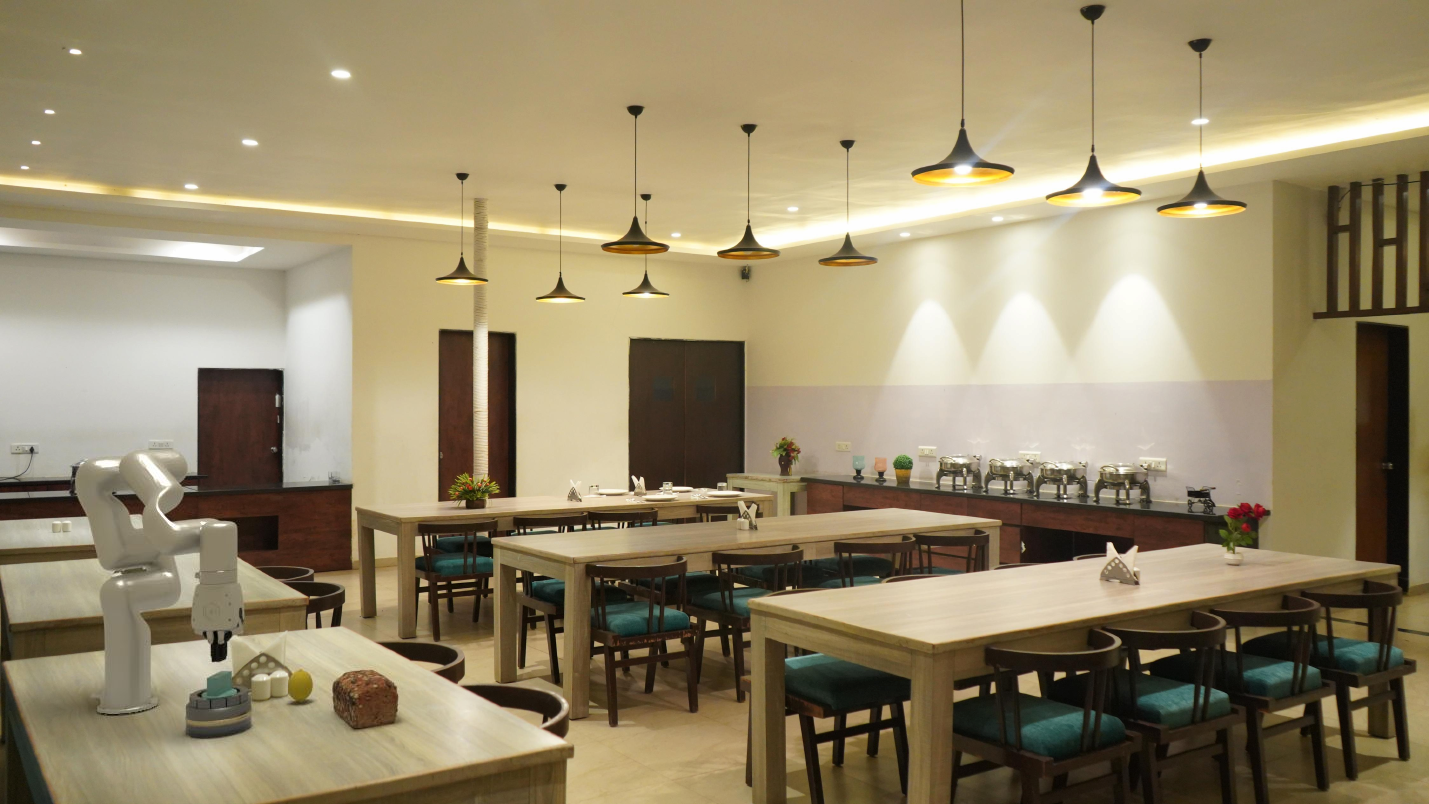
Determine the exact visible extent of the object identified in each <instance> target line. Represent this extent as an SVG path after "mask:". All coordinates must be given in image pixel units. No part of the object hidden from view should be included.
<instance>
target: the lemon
mask: <svg viewBox="0 0 1429 804" xmlns="http://www.w3.org/2000/svg"><path fill="white" fill-rule="evenodd" d="M287 684H288V685H287V691H288V695H289V696H290V698H291V699H292V700H295V701H297V702H298V704H299V703H303V702H304V700H306V699H308V698H309V697H310V696H311V694H312V691H313V688H314V685H313V684H314V683H313V678H312V676H311V674H310V673H309V672H308V671H305V670H304V669H301V668H299V669H298V670H297V671H295V672H294V673H292V674H291V676H290V677H289V679H288V683H287Z"/></svg>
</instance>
